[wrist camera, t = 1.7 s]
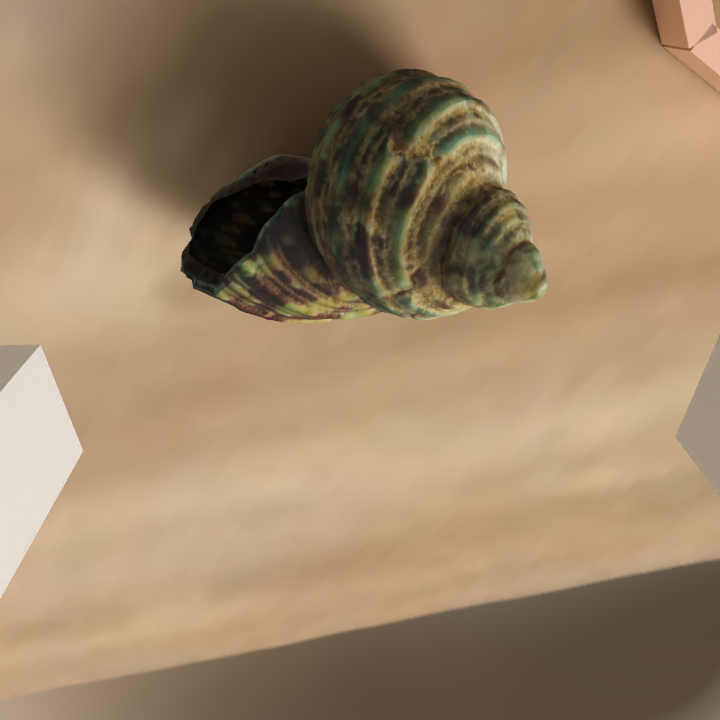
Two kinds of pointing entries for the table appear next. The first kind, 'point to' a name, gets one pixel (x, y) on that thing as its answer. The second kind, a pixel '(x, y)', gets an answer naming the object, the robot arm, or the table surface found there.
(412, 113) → the seashell
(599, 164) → the table surface
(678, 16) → the pink segmented ring
